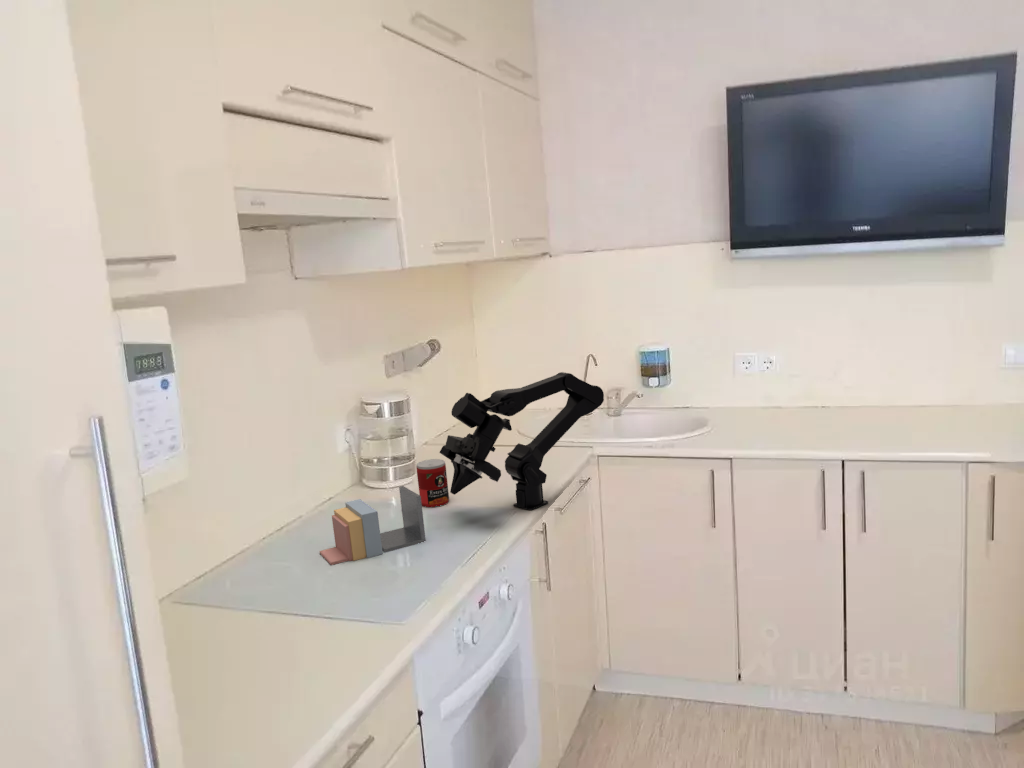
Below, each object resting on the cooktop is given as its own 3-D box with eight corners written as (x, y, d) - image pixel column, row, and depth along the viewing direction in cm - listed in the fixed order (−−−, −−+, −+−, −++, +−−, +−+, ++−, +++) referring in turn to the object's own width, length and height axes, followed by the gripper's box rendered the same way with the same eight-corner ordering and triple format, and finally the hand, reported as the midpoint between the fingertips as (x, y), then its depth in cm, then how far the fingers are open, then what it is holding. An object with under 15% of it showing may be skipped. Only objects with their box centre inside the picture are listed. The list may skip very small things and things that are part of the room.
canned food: (430, 509, 213) (425, 468, 212) (415, 503, 220) (410, 463, 218) (455, 502, 218) (451, 461, 216) (439, 496, 224) (435, 457, 222)
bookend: (408, 529, 200) (402, 485, 198) (425, 541, 190) (420, 495, 189) (368, 539, 195) (363, 495, 194) (385, 552, 186) (379, 505, 184)
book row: (365, 539, 195) (360, 499, 194) (382, 553, 185) (377, 511, 183) (317, 551, 190) (312, 510, 188) (333, 567, 180) (327, 523, 178)
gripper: (441, 413, 203) (408, 469, 200) (485, 430, 189) (451, 490, 186) (470, 434, 210) (439, 488, 207) (515, 452, 196) (483, 510, 193)
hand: (452, 493), depth 198 cm, fingers closed
